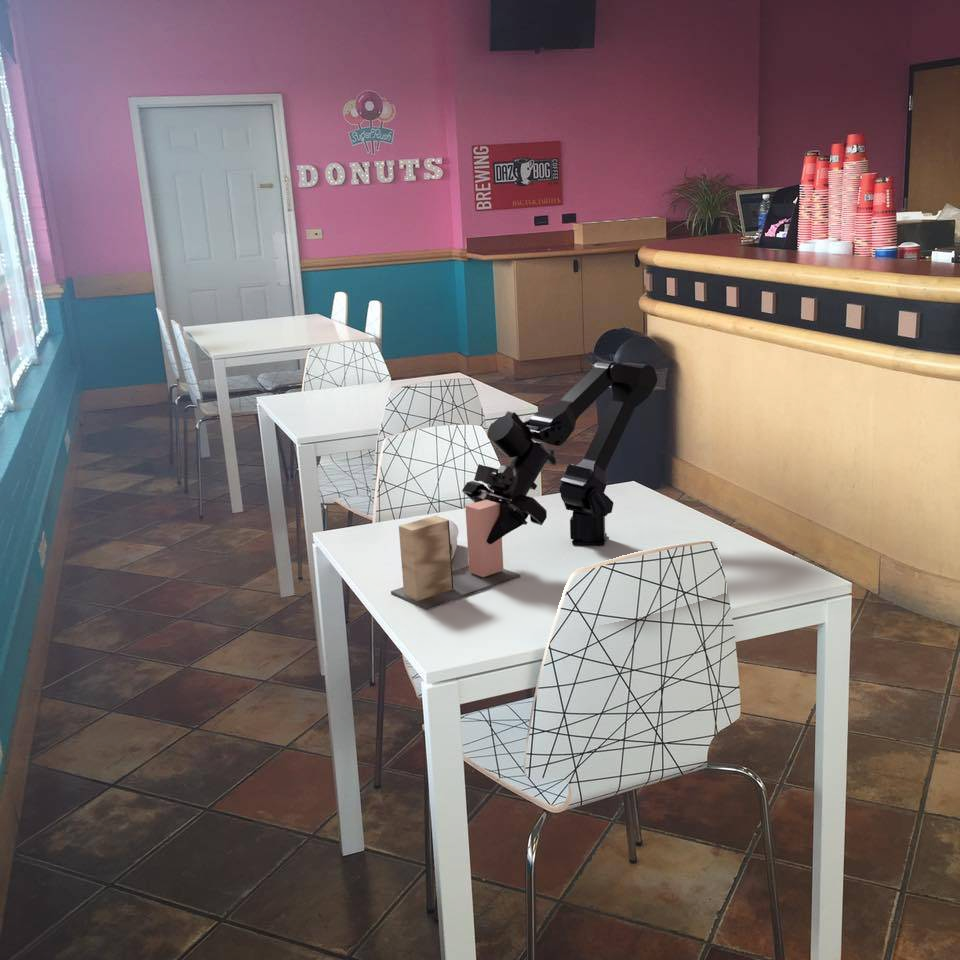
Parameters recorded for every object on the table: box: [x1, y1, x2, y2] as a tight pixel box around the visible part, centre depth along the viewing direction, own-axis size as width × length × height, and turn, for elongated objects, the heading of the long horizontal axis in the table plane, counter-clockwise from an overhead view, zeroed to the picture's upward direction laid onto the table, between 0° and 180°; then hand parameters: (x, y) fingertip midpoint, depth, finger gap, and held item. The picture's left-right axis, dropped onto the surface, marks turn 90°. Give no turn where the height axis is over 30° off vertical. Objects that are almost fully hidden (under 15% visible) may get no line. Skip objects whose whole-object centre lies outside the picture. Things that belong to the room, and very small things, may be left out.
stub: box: [464, 500, 505, 577], centre depth 191 cm, size 5×4×13 cm
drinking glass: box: [446, 518, 459, 560], centre depth 204 cm, size 7×7×15 cm
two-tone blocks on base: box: [390, 515, 522, 611], centre depth 187 cm, size 22×11×14 cm, turn 129°
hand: (480, 540), depth 190 cm, fingers closed on stub, 4 cm apart
